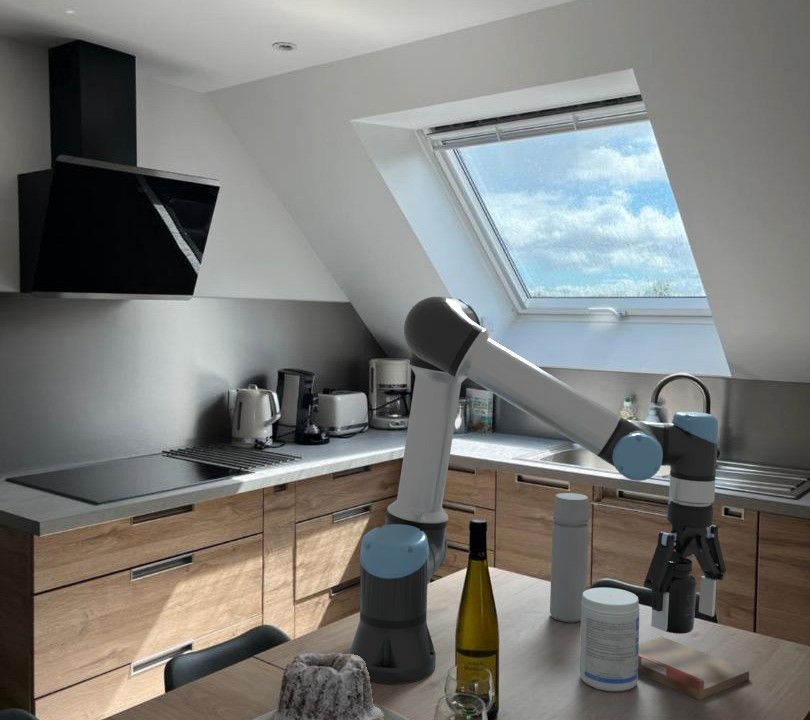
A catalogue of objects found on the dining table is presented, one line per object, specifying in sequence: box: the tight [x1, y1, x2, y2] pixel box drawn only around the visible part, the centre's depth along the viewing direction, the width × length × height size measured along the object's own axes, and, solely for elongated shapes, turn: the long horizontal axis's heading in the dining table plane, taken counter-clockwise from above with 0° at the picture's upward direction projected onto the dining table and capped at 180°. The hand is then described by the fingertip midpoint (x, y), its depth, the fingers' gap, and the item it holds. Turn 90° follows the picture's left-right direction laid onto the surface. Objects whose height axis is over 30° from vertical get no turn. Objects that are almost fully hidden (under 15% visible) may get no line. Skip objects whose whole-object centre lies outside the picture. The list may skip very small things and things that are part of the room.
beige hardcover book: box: [638, 636, 750, 701], centre depth 146 cm, size 18×14×3 cm
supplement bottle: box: [661, 558, 698, 635], centre depth 145 cm, size 7×7×12 cm
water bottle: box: [549, 492, 591, 623], centre depth 171 cm, size 9×8×25 cm
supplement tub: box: [579, 587, 640, 692], centre depth 141 cm, size 10×10×15 cm
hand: (683, 621), depth 147 cm, fingers open, 13 cm apart
